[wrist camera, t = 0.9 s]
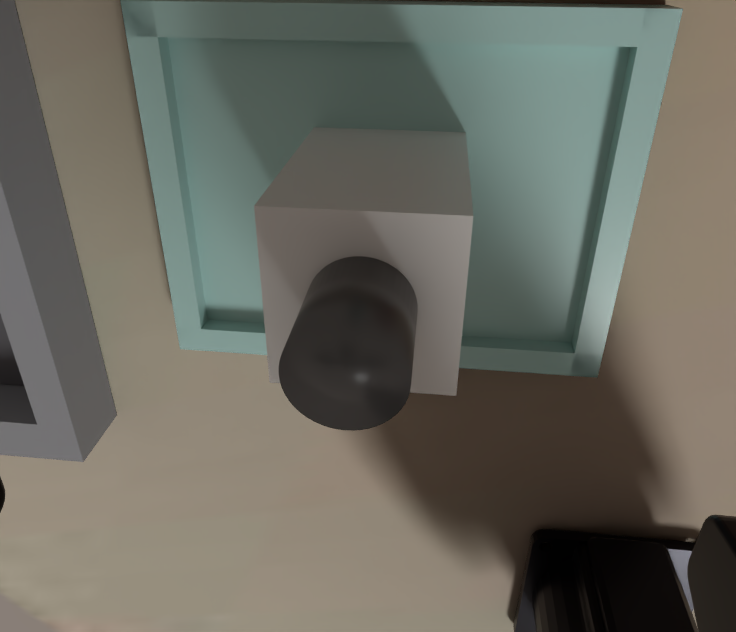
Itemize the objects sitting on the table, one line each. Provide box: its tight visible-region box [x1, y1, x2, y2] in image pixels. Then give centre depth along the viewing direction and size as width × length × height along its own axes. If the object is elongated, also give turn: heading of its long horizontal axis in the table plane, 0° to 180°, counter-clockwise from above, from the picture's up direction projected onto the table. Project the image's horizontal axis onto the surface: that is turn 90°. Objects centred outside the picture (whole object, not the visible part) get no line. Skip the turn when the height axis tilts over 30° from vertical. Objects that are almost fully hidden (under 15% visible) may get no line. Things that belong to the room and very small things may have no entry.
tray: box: [120, 0, 683, 377], centre depth 18 cm, size 13×10×1 cm
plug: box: [254, 127, 473, 430], centre depth 14 cm, size 4×4×8 cm
